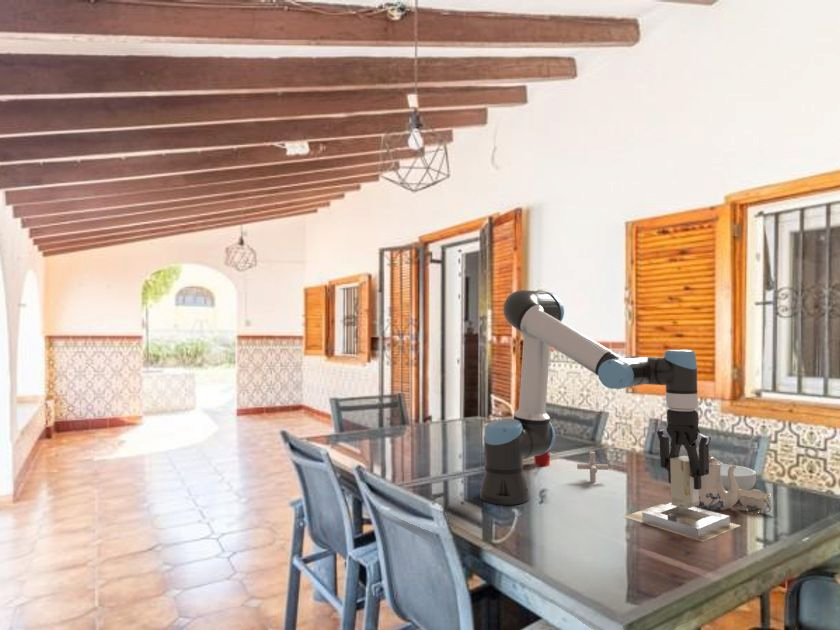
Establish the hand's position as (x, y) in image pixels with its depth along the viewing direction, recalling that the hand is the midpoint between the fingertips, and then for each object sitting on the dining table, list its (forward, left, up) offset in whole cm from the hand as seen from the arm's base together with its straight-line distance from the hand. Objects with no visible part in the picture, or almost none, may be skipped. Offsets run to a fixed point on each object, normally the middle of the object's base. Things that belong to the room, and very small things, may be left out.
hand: (685, 498), depth 143 cm
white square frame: (0, 0, -6) cm, 6 cm away
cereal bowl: (+40, +10, -8) cm, 42 cm away
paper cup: (+20, +69, -8) cm, 72 cm away
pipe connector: (+16, +42, -8) cm, 46 cm away
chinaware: (+23, +4, -8) cm, 24 cm away
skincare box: (0, 0, -2) cm, 2 cm away
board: (+1, +2, -7) cm, 8 cm away
